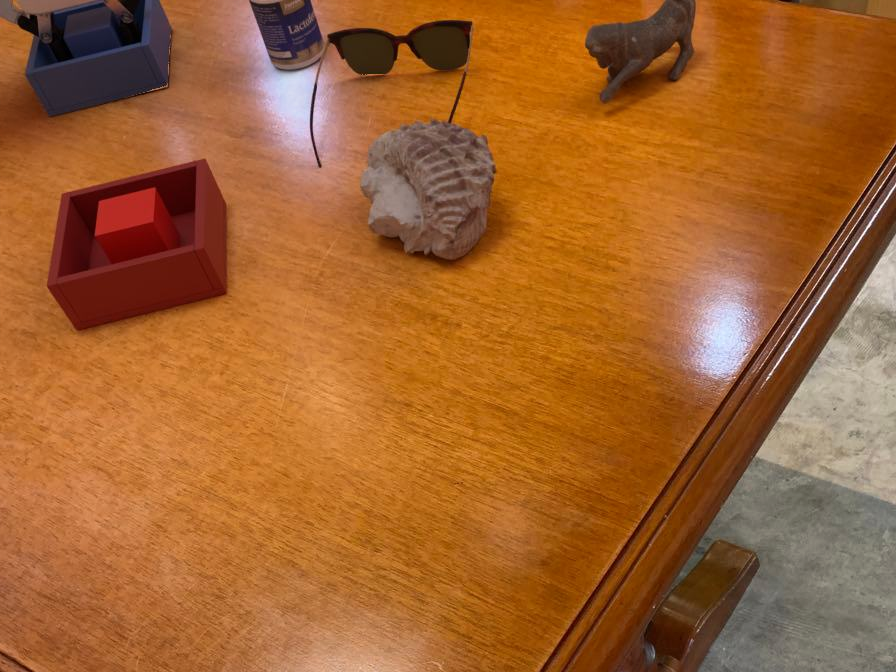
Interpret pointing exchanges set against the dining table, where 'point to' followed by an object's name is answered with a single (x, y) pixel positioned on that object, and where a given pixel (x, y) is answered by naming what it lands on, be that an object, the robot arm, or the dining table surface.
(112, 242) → the red block
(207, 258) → the maroon bin
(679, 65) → the dog figurine
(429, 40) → the sunglasses
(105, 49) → the blue block
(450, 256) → the seashell
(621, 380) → the dining table surface
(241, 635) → the dining table surface
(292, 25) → the pill bottle
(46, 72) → the blue bin
